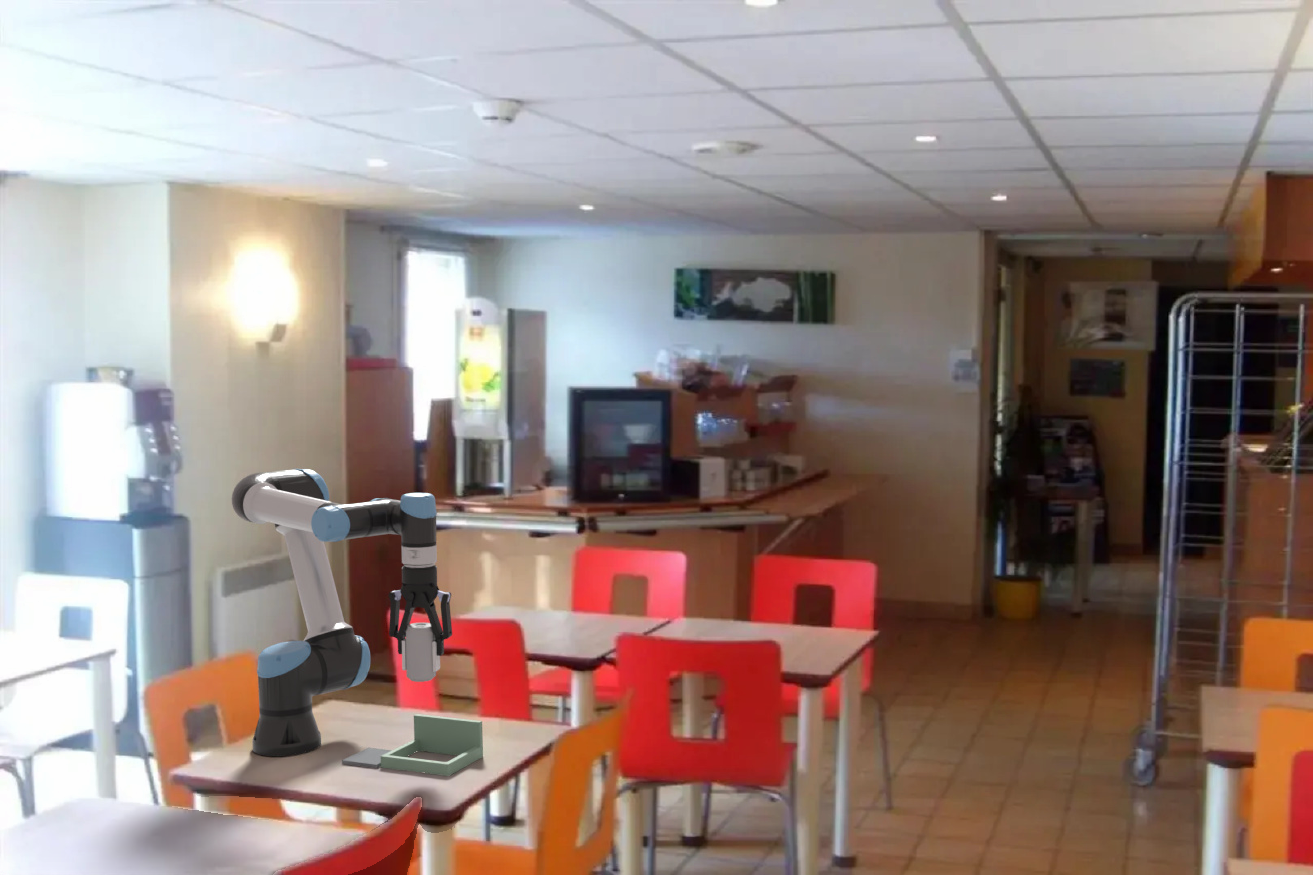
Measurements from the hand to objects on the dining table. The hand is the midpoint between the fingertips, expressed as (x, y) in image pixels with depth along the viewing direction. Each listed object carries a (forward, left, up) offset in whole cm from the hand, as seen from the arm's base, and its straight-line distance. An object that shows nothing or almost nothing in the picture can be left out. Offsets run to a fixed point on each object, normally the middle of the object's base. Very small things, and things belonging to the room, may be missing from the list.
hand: (421, 669), depth 294 cm
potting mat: (-11, -3, -21) cm, 24 cm away
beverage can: (0, 0, -2) cm, 2 cm away
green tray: (+2, 0, -21) cm, 21 cm away
